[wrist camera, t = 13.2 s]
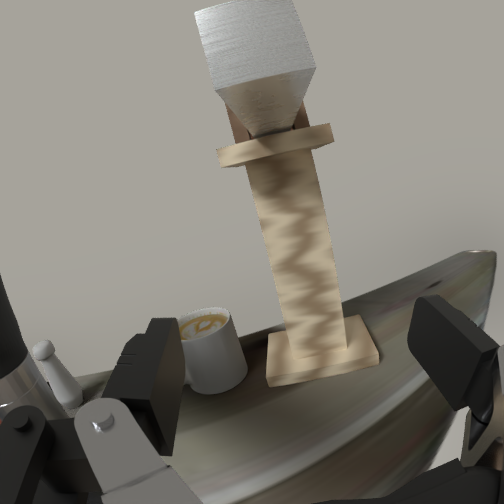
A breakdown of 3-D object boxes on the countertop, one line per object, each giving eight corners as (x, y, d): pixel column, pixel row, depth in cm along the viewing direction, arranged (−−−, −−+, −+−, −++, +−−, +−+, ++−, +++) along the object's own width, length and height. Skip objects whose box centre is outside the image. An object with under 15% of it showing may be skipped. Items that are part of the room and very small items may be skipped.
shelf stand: (268, 396, 39) (183, 98, 29) (271, 343, 52) (210, 116, 42) (382, 372, 36) (330, 63, 27) (360, 323, 50) (314, 91, 40)
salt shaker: (85, 389, 47) (54, 332, 44) (89, 404, 43) (53, 343, 39) (62, 400, 44) (28, 343, 41) (63, 415, 40) (25, 355, 36)
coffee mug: (231, 350, 53) (214, 301, 50) (259, 373, 44) (242, 319, 42) (164, 381, 47) (141, 333, 45) (181, 413, 38) (153, 359, 36)
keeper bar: (176, 103, 11) (156, 15, 10) (243, 143, 35) (233, 108, 33) (354, 62, 10) (319, -24, 8) (302, 130, 34) (292, 94, 32)
